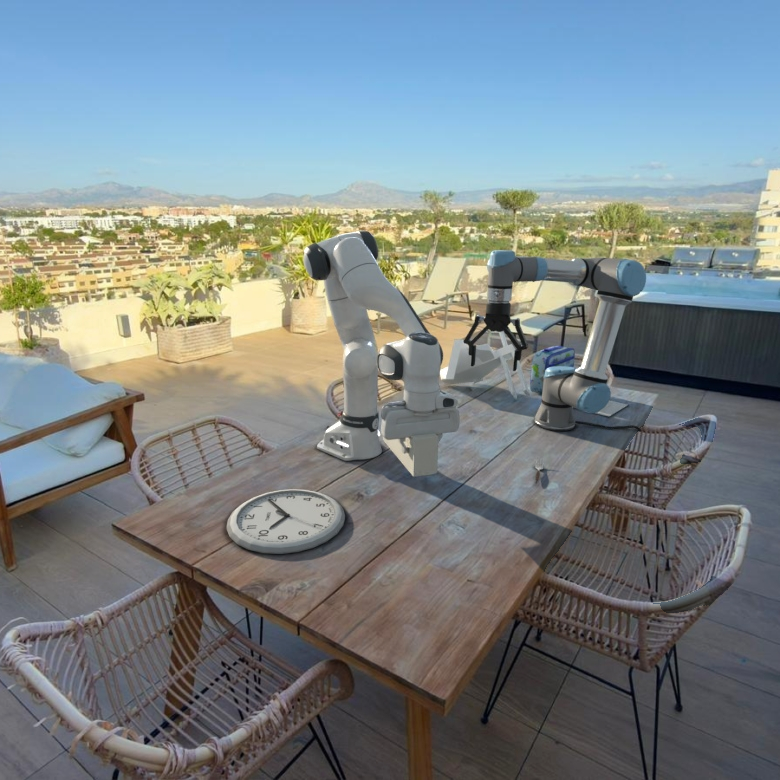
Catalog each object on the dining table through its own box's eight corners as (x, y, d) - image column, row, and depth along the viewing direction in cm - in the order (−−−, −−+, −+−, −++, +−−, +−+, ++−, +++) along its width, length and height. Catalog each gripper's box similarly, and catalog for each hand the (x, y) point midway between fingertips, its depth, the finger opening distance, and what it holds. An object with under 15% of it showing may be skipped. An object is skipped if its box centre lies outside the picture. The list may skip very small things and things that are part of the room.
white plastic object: (461, 429, 252) (437, 405, 227) (444, 352, 274) (420, 323, 250) (535, 404, 240) (518, 377, 215) (510, 326, 262) (492, 293, 237)
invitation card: (608, 416, 214) (573, 407, 224) (608, 416, 214) (573, 408, 224) (628, 404, 229) (594, 396, 238) (628, 405, 229) (594, 397, 238)
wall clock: (345, 545, 122) (213, 550, 119) (345, 551, 122) (214, 556, 120) (344, 484, 150) (238, 487, 148) (345, 490, 151) (239, 492, 148)
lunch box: (546, 399, 235) (551, 353, 228) (525, 393, 242) (530, 349, 236) (574, 387, 252) (579, 345, 246) (553, 383, 260) (558, 341, 253)
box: (382, 439, 152) (382, 407, 149) (403, 437, 154) (403, 404, 151) (413, 477, 130) (414, 439, 127) (437, 473, 132) (438, 436, 129)
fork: (531, 484, 156) (531, 478, 156) (536, 462, 170) (536, 457, 170) (540, 485, 155) (541, 479, 155) (544, 464, 170) (545, 458, 169)
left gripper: (385, 407, 123) (385, 460, 127) (463, 399, 129) (461, 450, 133) (377, 399, 129) (377, 450, 133) (452, 391, 135) (450, 441, 139)
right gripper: (456, 300, 164) (453, 366, 170) (538, 306, 155) (531, 374, 161) (462, 297, 170) (458, 360, 177) (541, 302, 162) (534, 369, 168)
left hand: (419, 450), depth 133 cm, fingers closed on box, 6 cm apart
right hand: (493, 367), depth 169 cm, fingers open, 13 cm apart
